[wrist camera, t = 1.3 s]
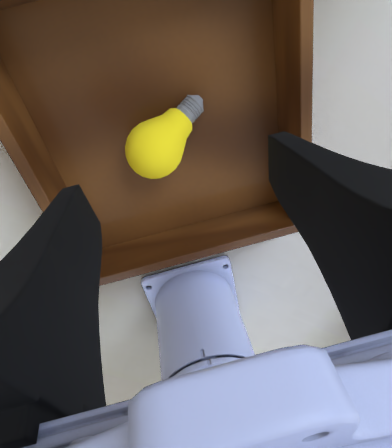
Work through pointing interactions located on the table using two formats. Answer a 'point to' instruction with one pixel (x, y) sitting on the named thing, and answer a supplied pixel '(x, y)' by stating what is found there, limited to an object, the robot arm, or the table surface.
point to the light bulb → (162, 139)
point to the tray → (155, 106)
